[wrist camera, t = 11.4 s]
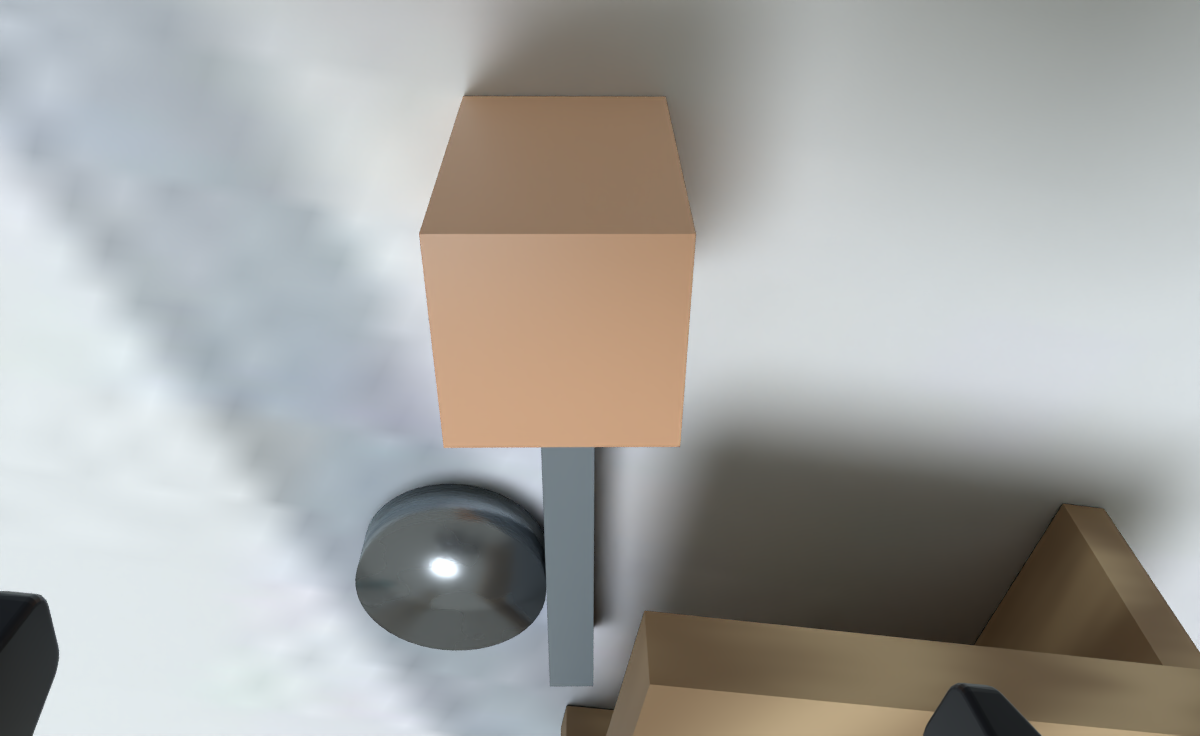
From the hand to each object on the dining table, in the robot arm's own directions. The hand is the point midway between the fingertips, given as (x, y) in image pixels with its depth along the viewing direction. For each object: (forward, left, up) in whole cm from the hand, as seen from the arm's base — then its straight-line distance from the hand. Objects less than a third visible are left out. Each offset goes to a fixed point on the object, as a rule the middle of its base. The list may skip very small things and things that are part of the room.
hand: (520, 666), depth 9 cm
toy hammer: (-1, +6, -12) cm, 14 cm away
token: (+1, +11, -13) cm, 17 cm away
